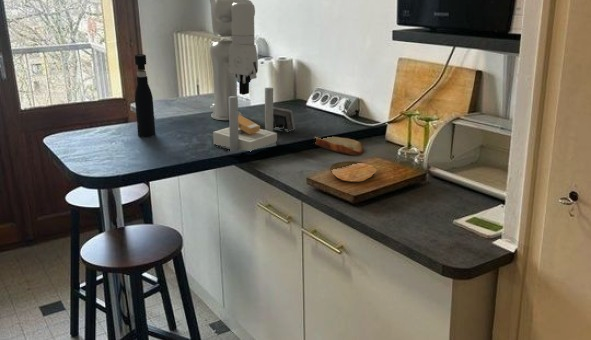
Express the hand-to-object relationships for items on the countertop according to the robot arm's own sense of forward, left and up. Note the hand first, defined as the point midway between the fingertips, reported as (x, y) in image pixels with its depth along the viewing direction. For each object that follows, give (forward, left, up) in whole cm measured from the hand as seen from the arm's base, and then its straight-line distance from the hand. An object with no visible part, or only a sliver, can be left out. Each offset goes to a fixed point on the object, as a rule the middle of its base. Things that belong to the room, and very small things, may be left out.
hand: (244, 93), depth 198 cm
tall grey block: (+4, +9, -19) cm, 21 cm away
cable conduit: (+4, -9, -19) cm, 21 cm away
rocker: (0, 0, -11) cm, 11 cm away
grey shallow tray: (0, 0, -19) cm, 19 cm away
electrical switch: (-2, +23, -19) cm, 30 cm away
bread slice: (+26, +21, -20) cm, 39 cm away
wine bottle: (-37, -15, -19) cm, 44 cm away
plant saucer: (+46, 0, -20) cm, 50 cm away
